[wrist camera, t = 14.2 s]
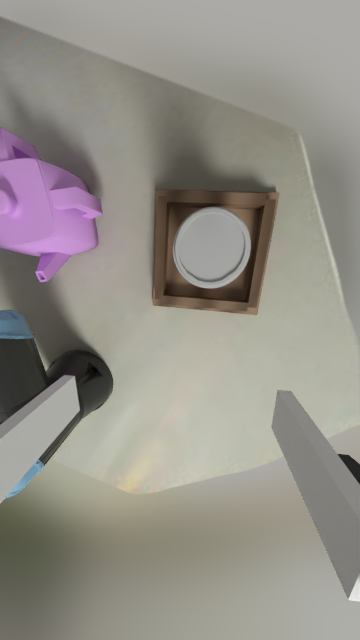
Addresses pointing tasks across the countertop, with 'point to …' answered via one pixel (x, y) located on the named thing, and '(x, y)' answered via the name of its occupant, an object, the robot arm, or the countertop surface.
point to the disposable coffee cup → (211, 247)
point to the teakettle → (43, 208)
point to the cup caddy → (248, 285)
